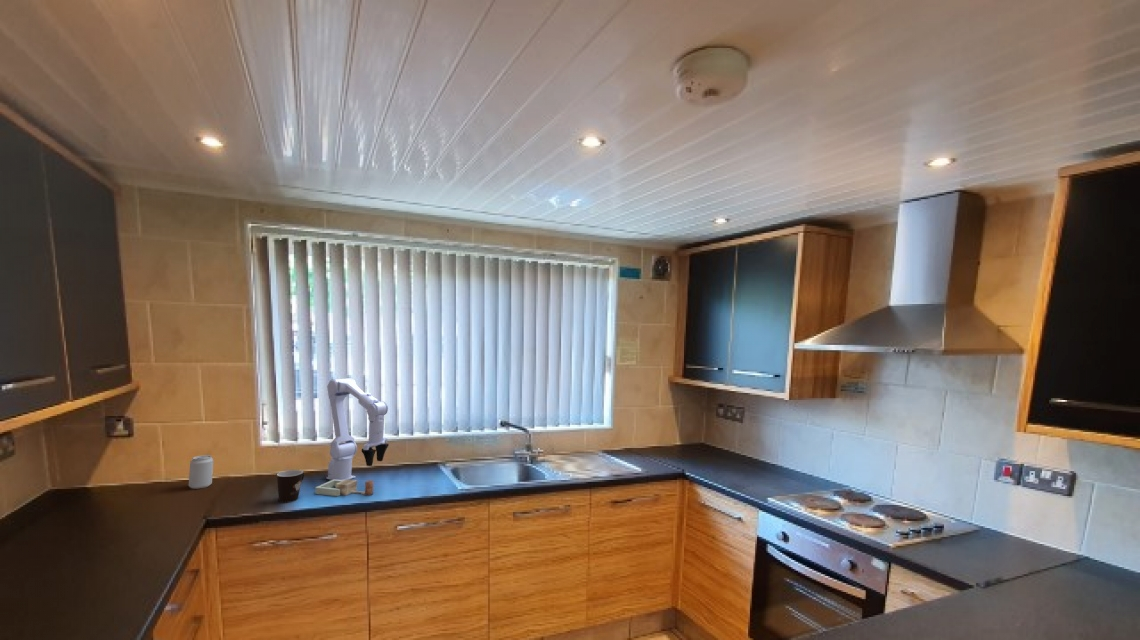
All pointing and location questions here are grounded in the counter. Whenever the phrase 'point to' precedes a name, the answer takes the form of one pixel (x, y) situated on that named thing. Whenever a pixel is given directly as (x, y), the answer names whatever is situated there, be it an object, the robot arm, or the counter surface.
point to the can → (201, 472)
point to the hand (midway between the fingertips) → (374, 463)
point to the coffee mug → (289, 485)
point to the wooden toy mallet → (354, 487)
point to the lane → (328, 488)
